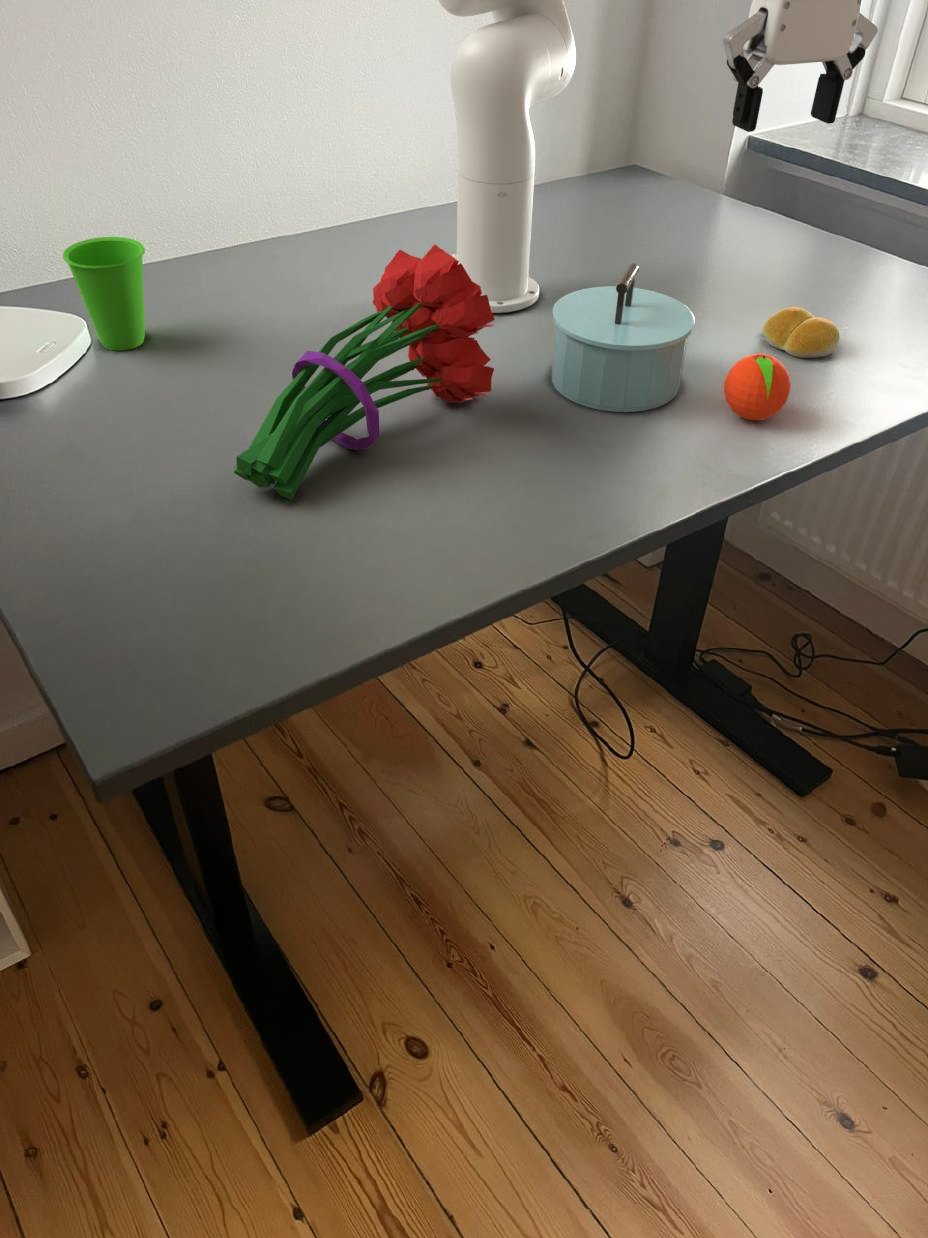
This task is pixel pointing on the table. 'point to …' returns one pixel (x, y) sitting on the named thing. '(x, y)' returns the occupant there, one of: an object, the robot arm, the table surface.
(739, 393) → the clementine
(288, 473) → the bouquet
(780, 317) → the bread roll
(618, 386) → the pot
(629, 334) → the lid
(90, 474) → the table surface
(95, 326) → the cup
